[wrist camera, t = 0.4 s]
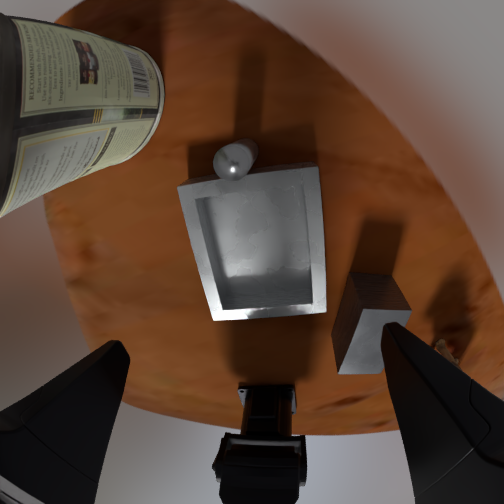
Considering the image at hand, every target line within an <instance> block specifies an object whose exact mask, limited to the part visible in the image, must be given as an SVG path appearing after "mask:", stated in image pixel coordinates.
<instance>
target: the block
mask: <svg viewBox="0 0 504 504" xmlns="http://www.w3.org/2000/svg"><path fill="white" fill-rule="evenodd" d="M411 312H412V310H411V308H410V306H409V304H408V302H407V301H406V299H405V297H404V295H403V294H402V292H401V290H400V289H399V287H398V285H397V283H396V282H395V280H394V279H393V277H392V275H379V274H367V273H355V272H349V275H348V279H347V282H346V286H345V290H344V293H343V297H342V301H341V304H340V307H339V311H338V314H337V318H336V321H335V324H334V327H333V330H332V334H331V337H332V343H333V348H334V354H335V360H336V366H337V373H338V374H377V373H381V372H382V370H383V368H384V362H383V357H382V353H381V346H380V344H381V336H382V330H383V326H384V324H385V323H390V322H398V323H399V324H400V325H402V326H403V327H405V325H406V323H407V321H408V319H409V316H410V314H411Z"/></svg>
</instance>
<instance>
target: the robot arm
mask: <svg viewBox="0 0 504 504" xmlns="http://www.w3.org/2000/svg"><path fill="white" fill-rule="evenodd" d="M380 346H381V353H382V357H383V362H384V367H385V373H386V378H387V384H388V389H389V393H390V396H391V400H392V403H393V407H394V410H395V414H396V417H397V421H398V425H399V428H400V432H401V436H402V440H403V444H404V448H405V453H406V457H407V461H408V466H409V471H410V476H411V481H412V486H413V491H414V497H415V504H504V401H503V400H501V399H500V398H498V397H497V396H495V395H494V394H492V393H491V392H489V391H488V390H487V389H485V388H484V387H483V386H481V385H480V384H479V383H477V382H476V381H475V380H474V379H471V377H470V376H468V375H467V374H466V373H464V372H463V371H462V370H461V369H459V368H458V367H457V366H455V365H454V364H453V363H451V362H450V361H449V360H447V359H446V358H445V357H443V356H442V355H441V354H440V353H438V352H437V351H436V350H434V349H433V348H432V347H430V346H429V345H428V344H426V343H425V342H424V341H422V340H421V339H419V338H418V337H417V336H415V335H414V334H413V333H411V332H410V331H409V330H407V329H406V328H405V327H403V326H402V325H400V324H399V323H398V322H390V323H385V324H384V326H383V330H382V336H381V344H380ZM129 365H130V356H129V354H128V353H127V351H126V349H125V347H124V346H123V344H122V342H121V341H119V340H110V341H108V342H107V343H105V344H104V345H102V346H101V347H99V348H98V349H96V350H95V351H93V352H92V353H90V354H89V355H87V356H86V357H84V358H83V359H82V360H80V361H79V362H77V363H76V364H74V365H73V366H71V367H70V368H69V369H67V370H65V371H64V372H62V373H61V374H59V375H58V376H56V377H55V378H53V379H52V380H50V381H49V382H48V383H46V384H44V386H41V387H40V388H38V389H37V390H36V391H34V392H32V393H31V394H30V395H28V396H26V397H25V398H23V399H21V400H19V401H18V402H16V403H14V404H13V405H11V406H9V407H7V408H6V409H4V410H2V411H0V504H94V503H95V497H96V493H97V488H98V483H99V478H100V474H101V470H102V466H103V462H104V458H105V454H106V451H107V447H108V443H109V440H110V436H111V433H112V429H113V425H114V422H115V419H116V415H117V412H118V409H119V406H120V403H121V399H122V396H123V392H124V387H125V383H126V378H127V374H128V369H129ZM238 394H239V397H240V399H241V402H242V405H243V407H244V411H243V418H242V426H241V433H240V434H231V433H227V432H226V433H225V435H224V438H222V439H221V444H220V448H219V451H218V454H217V456H216V458H215V460H214V462H213V464H212V469H213V470H214V471H215V474H216V480H217V482H220V490H219V496H220V498H221V500H222V503H223V504H295V503H296V501H297V500H298V498H299V486H305V484H306V477H307V454H306V439H305V435H300V436H292V414H295V413H296V403H295V392H294V386H293V385H279V386H248V387H239V388H238Z"/></svg>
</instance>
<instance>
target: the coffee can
mask: <svg viewBox="0 0 504 504" xmlns="http://www.w3.org/2000/svg"><path fill="white" fill-rule="evenodd" d="M164 97H165V94H164V84H163V79H162V75H161V72H160V70H159V68H158V66H157V64H156V63H155V61H154V60H153V59H152V58H151V57H150V55H149V54H148V53H146V52H145V51H143V50H141V49H139V48H137V47H134V46H130V45H126V44H124V43H121V42H118V41H115V40H112V39H109V38H106V37H103V36H100V35H97V34H93V33H90V32H87V31H83V30H79V29H75V28H72V27H68V26H64V25H60V24H56V23H51V22H47V21H40V20H36V19H30V18H23V17H15V16H6V15H4V14H2V13H0V218H1V217H2V216H4V215H5V214H7V213H9V212H11V211H12V210H14V209H16V208H18V207H20V206H21V205H23V204H25V203H27V202H29V201H31V200H33V199H35V198H37V197H39V196H41V195H43V194H45V193H47V192H49V191H51V190H53V189H55V188H57V187H60V186H62V185H64V184H66V183H69V182H71V181H73V180H75V179H78V178H80V177H83V176H85V175H88V174H90V173H92V172H95V171H97V170H100V169H102V168H105V167H108V166H110V165H116V164H119V163H122V162H124V161H126V160H128V159H130V158H131V157H133V156H134V155H135V154H137V153H138V152H139V151H140V150H141V149H142V148H143V147H144V146H145V145H146V144H147V143H148V141H149V140H150V138H151V136H152V135H153V133H154V132H155V130H156V128H157V126H158V123H159V121H160V118H161V115H162V111H163V105H164Z"/></svg>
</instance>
